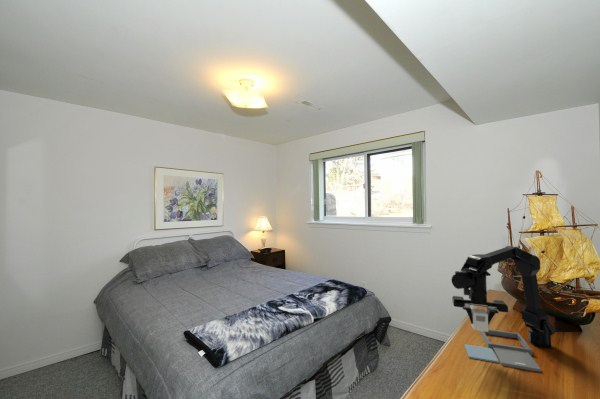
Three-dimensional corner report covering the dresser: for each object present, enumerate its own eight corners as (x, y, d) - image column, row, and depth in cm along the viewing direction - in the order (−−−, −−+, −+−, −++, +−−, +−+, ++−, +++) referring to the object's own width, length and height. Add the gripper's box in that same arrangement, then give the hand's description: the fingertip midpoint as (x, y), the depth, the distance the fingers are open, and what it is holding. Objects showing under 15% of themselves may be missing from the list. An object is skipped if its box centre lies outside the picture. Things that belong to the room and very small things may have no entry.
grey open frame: (519, 337, 122) (518, 333, 122) (546, 372, 97) (546, 367, 97) (480, 332, 128) (480, 328, 128) (496, 364, 103) (496, 359, 103)
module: (485, 326, 112) (484, 309, 112) (488, 332, 107) (487, 314, 107) (471, 324, 114) (470, 308, 114) (473, 330, 109) (473, 312, 109)
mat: (491, 349, 113) (491, 348, 113) (498, 362, 104) (498, 361, 104) (464, 345, 117) (464, 344, 117) (468, 357, 108) (468, 356, 108)
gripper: (499, 283, 115) (500, 320, 114) (450, 279, 122) (451, 313, 122) (508, 291, 104) (509, 331, 104) (453, 286, 112) (454, 324, 111)
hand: (479, 324), depth 111 cm, fingers closed on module, 5 cm apart
